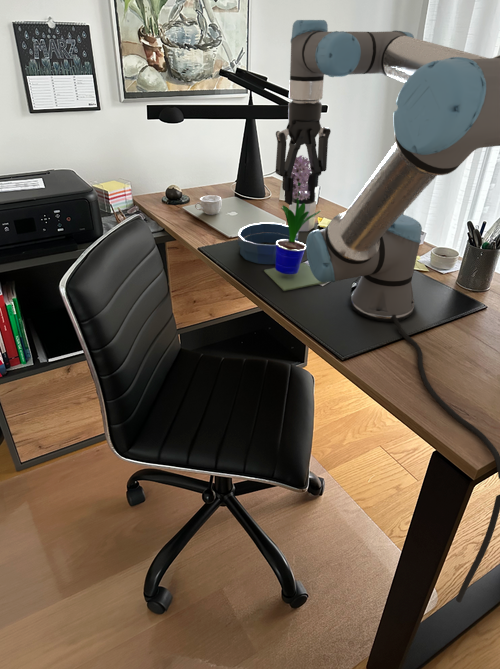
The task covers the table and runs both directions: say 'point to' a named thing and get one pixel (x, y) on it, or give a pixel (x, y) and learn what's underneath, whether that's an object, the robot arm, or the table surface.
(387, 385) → the table surface
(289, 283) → the mat
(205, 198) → the teacup
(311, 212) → the jar
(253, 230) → the bowl
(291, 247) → the hyacinth
